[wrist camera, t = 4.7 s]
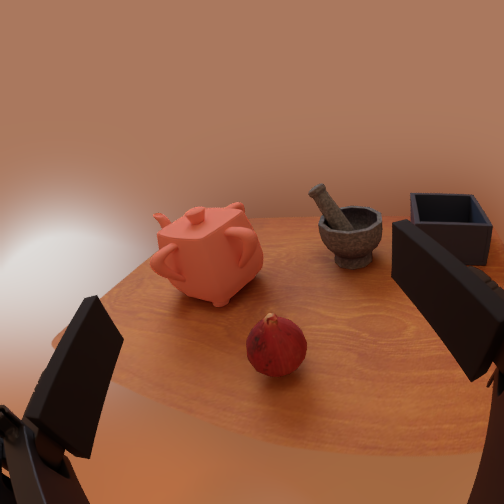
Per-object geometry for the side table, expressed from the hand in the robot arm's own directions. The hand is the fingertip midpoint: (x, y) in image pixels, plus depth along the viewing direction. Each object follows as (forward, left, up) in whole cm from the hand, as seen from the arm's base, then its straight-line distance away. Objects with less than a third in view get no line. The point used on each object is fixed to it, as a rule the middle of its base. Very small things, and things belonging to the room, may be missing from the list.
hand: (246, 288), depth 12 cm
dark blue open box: (+18, -35, -18) cm, 43 cm away
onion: (+10, -2, -18) cm, 21 cm away
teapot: (+31, +2, -18) cm, 36 cm away
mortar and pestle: (+25, -19, -18) cm, 36 cm away
